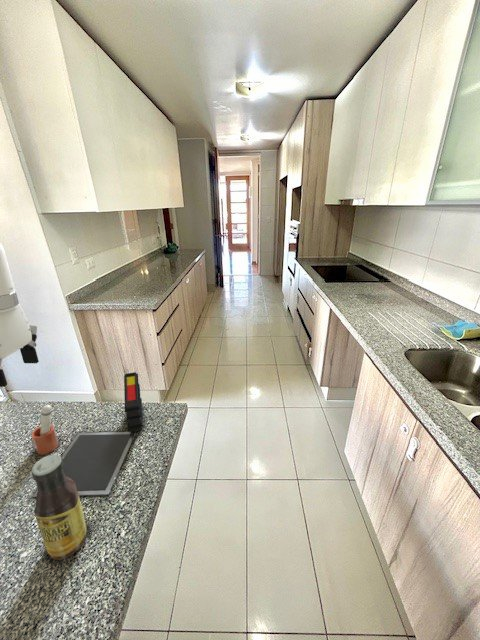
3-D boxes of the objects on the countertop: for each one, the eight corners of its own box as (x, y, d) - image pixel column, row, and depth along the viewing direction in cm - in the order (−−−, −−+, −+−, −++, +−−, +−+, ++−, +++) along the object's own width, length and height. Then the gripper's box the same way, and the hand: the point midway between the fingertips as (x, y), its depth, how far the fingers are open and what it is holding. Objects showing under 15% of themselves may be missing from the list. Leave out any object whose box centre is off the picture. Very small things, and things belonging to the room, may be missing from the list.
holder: (33, 456, 66) (26, 438, 64) (45, 442, 70) (39, 424, 68) (51, 455, 66) (45, 437, 64) (62, 441, 71) (57, 424, 68)
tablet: (33, 499, 56) (32, 495, 56) (78, 435, 73) (78, 432, 72) (108, 497, 57) (108, 493, 56) (136, 434, 73) (136, 431, 73)
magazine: (141, 397, 86) (137, 370, 76) (144, 436, 77) (139, 411, 67) (129, 399, 85) (123, 373, 75) (131, 439, 76) (124, 415, 66)
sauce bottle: (40, 563, 46) (6, 482, 39) (63, 524, 51) (36, 448, 44) (78, 563, 46) (50, 482, 39) (96, 524, 51) (75, 448, 44)
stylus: (37, 449, 67) (39, 408, 62) (42, 443, 69) (45, 402, 64) (45, 451, 67) (48, 409, 63) (50, 444, 69) (54, 404, 64)
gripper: (8, 291, 61) (26, 355, 67) (-70, 315, 45) (-37, 397, 51) (41, 292, 62) (56, 355, 68) (-25, 316, 46) (2, 397, 52)
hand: (16, 373), depth 59 cm, fingers open, 9 cm apart
